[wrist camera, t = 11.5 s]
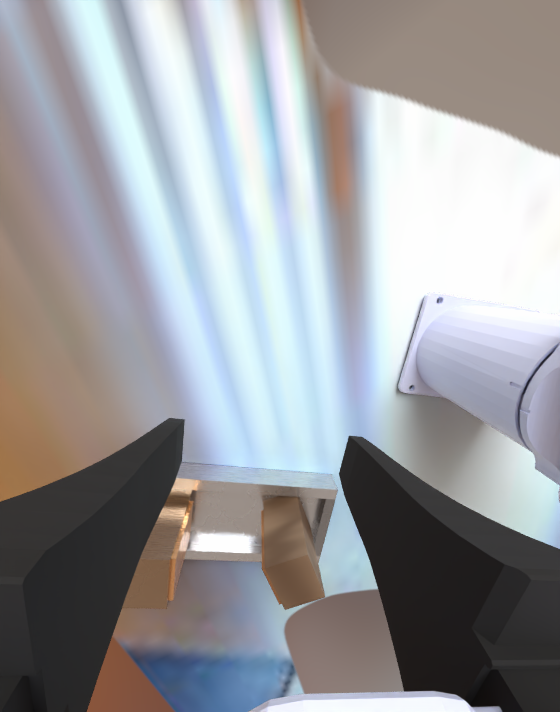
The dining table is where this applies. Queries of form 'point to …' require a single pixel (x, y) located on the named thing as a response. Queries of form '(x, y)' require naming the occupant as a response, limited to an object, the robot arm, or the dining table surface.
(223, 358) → the dining table surface
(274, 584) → the tan cardboard box
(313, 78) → the dining table surface
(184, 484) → the rail
